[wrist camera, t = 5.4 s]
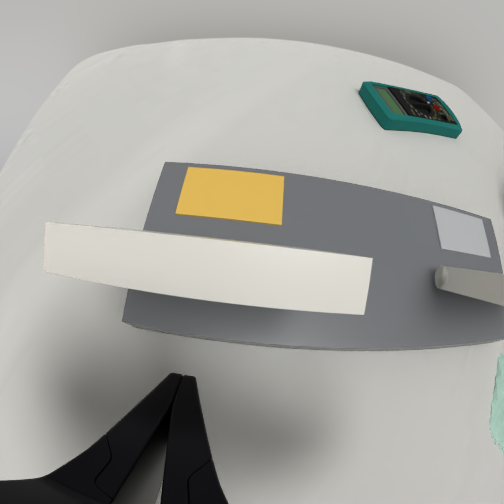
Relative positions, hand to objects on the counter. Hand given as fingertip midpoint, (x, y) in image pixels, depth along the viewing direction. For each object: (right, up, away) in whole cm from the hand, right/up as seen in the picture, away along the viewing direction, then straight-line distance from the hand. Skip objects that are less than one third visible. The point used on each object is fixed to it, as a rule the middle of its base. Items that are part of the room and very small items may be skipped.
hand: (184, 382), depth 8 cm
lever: (+20, +2, +9) cm, 22 cm away
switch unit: (+10, +3, +12) cm, 16 cm away
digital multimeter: (+23, +22, +21) cm, 38 cm away
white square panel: (0, +4, +8) cm, 9 cm away
